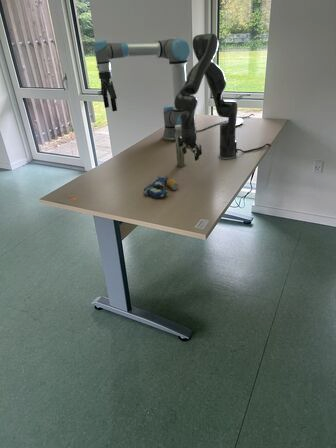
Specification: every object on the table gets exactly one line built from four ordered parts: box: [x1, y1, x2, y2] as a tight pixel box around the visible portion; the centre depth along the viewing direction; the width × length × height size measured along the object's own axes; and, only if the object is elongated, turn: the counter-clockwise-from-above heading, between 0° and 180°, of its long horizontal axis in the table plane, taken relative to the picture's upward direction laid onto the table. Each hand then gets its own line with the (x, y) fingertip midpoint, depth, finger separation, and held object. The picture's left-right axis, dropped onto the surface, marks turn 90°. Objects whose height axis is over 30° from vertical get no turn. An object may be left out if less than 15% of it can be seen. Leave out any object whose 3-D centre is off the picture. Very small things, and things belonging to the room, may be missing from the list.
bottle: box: [175, 129, 185, 168], centre depth 194 cm, size 4×4×24 cm
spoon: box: [236, 117, 244, 127], centre depth 260 cm, size 35×11×2 cm, turn 159°
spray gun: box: [143, 175, 180, 199], centre depth 172 cm, size 21×4×15 cm
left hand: (110, 109), depth 204 cm, fingers open, 13 cm apart
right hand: (190, 156), depth 179 cm, fingers open, 8 cm apart
